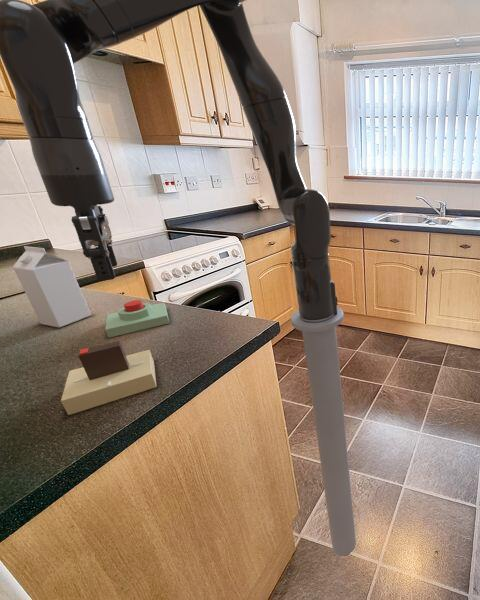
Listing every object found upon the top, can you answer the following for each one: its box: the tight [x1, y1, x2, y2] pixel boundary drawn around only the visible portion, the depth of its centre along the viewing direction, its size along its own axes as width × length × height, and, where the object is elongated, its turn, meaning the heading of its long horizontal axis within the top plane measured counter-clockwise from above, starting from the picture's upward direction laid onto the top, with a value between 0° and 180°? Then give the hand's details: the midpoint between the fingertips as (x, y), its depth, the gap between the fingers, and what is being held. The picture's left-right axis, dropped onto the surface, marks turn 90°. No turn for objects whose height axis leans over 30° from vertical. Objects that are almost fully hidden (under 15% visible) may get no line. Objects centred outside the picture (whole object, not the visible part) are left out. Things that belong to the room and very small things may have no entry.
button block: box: [104, 302, 170, 339], centre depth 83 cm, size 12×10×4 cm
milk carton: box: [12, 245, 92, 328], centre depth 82 cm, size 7×7×19 cm
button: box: [123, 299, 144, 312], centre depth 82 cm, size 4×4×2 cm
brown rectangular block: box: [77, 340, 129, 380], centre depth 59 cm, size 6×2×5 cm, turn 126°
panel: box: [60, 349, 157, 416], centre depth 61 cm, size 12×10×3 cm
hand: (108, 272), depth 58 cm, fingers open, 8 cm apart
